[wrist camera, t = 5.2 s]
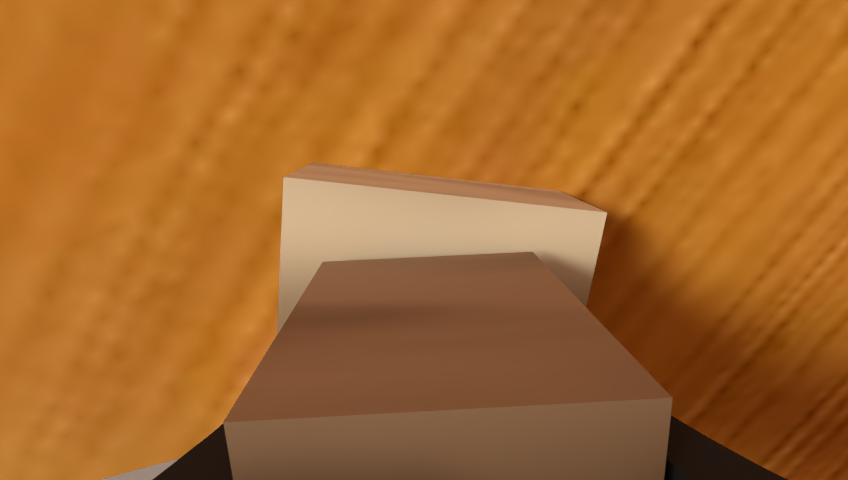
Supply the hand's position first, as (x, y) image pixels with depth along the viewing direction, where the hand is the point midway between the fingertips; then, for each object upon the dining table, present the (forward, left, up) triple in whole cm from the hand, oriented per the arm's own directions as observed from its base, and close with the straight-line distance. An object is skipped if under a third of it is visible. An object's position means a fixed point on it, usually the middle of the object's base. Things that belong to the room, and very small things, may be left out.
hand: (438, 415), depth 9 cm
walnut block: (0, 0, -2) cm, 2 cm away
